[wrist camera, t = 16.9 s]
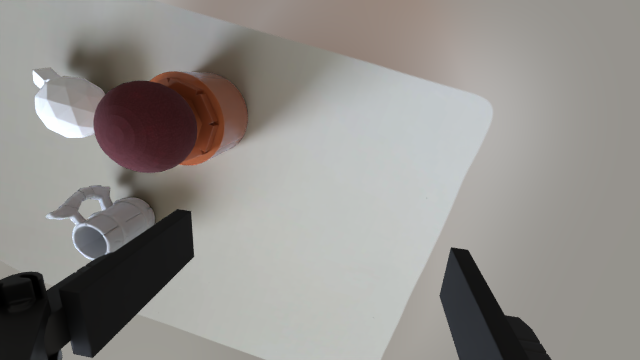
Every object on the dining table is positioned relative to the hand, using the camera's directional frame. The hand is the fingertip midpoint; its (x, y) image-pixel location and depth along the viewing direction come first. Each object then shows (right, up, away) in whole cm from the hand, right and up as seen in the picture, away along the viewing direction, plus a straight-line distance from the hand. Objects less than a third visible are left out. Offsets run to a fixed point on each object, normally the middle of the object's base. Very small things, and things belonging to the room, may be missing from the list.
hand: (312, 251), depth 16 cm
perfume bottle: (-36, +17, +34) cm, 53 cm away
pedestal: (-16, +14, +32) cm, 39 cm away
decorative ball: (-18, +11, +24) cm, 32 cm away
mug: (-33, -1, +40) cm, 52 cm away
